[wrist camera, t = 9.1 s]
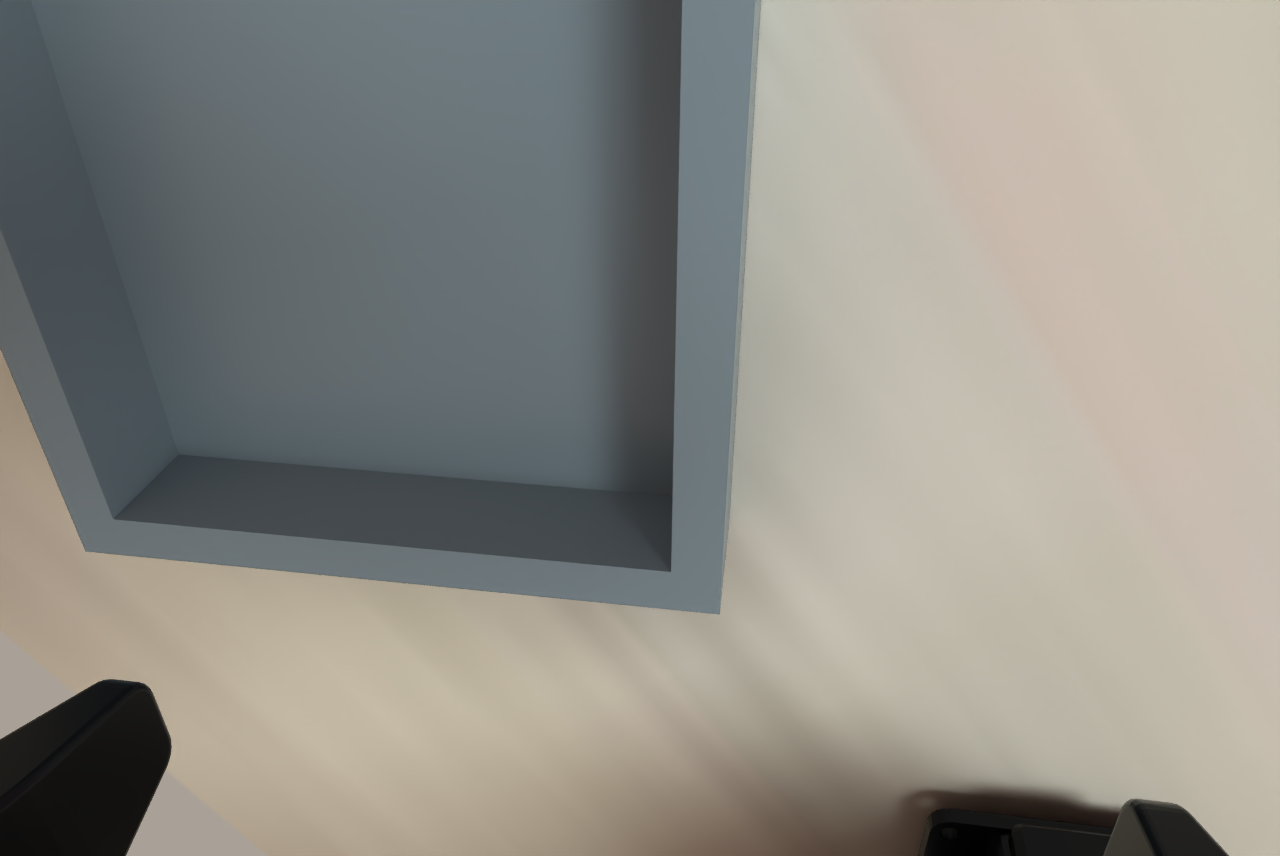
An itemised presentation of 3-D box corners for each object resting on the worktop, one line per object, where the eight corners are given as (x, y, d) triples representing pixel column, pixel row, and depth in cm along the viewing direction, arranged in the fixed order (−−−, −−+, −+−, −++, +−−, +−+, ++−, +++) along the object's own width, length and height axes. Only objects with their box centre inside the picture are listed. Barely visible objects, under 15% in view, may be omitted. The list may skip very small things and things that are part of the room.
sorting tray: (728, 523, 21) (719, 614, 19) (163, 473, 23) (85, 551, 20) (823, -1016, 10) (830, -1302, 7) (-300, -885, 12) (-598, -1082, 9)
